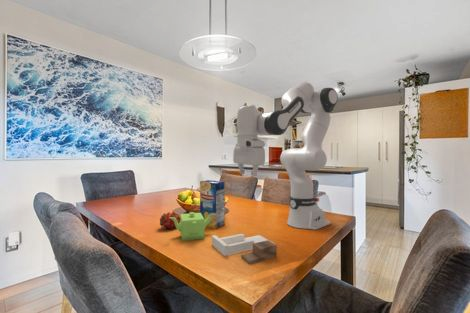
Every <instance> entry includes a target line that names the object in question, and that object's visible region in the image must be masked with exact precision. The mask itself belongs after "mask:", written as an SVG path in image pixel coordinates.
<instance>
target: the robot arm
mask: <svg viewBox="0 0 470 313" xmlns="http://www.w3.org/2000/svg"><path fill="white" fill-rule="evenodd" d="M338 99H339V97H338V92H337V91H336V90H335V89H334V88H332V87H324V88H320V89H316V90H315V89H314V86H313V85H312V84H311V83H310V82H307V81H303V82H299V83H298V84H296V85H294V86H292V87H291V88H290V89H289V90H287V91H286V92H285V93H284V94H283V95H282V96H281V105H282V109H280V110H279V109H278V110H275V111H271V112H266V113H263V112H262V111H260V110H259V109H257V107H256V105H255V104H248V105H243V106H240V107H239V108H238V109H237V113H236V114H237V115H236V128H237V136H236V139H237V141H236V144H235V147H234V148H233V155H232V156H233V158H232V162H233V163H234V164H237V166H238V169H239V173H240V175H245V173H246V170H245V168H244V165H247V166H248V165H249V166H252V171H251V176H252V177H257V176H258V170H259V168H260V166H264V165H265V163H266V151H265V150H266V149H265V148H264V147H265V146H266V141H264V140H262V139H260V138H259V137H258V136H281V135H283V134H285V132H286V131H287V130H288V128H289V125H290V124H291V122H292V121H293V120H294V119H295V118H296V117H297V116H298V115H299V113H301V114H302V113H303V114H308V113H311V114H310V115H311V116H310V117H309V119H308V121H307V123H306V125H305V127H304V129H303V131H302V133H301V136H300V138H301V142H302V143H303V144H304V145H303V147H300V148H299V147H295V148H294V147H293V148H292V147H291V148H288V149H285V150H282V152H281V154H280V156H279V161H280V163H281V165H282V166H283V167H284V168H285V171H286V172H287V175H288V178H289V181H290V182H289V183H290V196H289V205H290V206H289V212H288V218H287V222H286V224H287V225H289V226H290V227H292V228H296V229H306V230H319V229H321V228H323V227H324V228H325V227H326V226H328V225H331V221H329V220H328V219H327V218H326V212H325V211H324V209H322V208H321V207H320V206H318V204H316V202H317V203H319V201H320V198H319V197H316V196H315V197H314V182H313V180H312V179H311V178H310V177H308V175H307V173H306V171H310V172H311V171H312V172H313V171H319V170H323V169H324V168H325V167H326V164H327V161H328V160H327V159H328V158H327V154H326V153H325V151H324V150H323V148H322V146H323V142H324V139H325V137H326V134H327V132H328V129H329V127H330V122H331V115H330V113H331V112H332V111H334V109H335V107H336V105H337V103H338Z"/></svg>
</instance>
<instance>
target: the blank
mask: <svg viewBox="0 0 470 313" xmlns="http://www.w3.org/2000/svg"><path fill="white" fill-rule="evenodd" d="M268 240H269V239H267V241H262V242H258V243H253V249H252V252H248V253H244V254H241V259H242V260H243V261H245V263H247V264H248V265H251V264H255V263H260V262H263V261H266V260H270V259H273V258H277V257H278V256H277V255H278V254H277V252H278V251H277V249H278V248H277V247H278V245H277V244H276V243H274V242H273V241H271V240H269V241H268ZM270 241H271V242H270ZM272 242H273V243H272Z"/></svg>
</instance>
